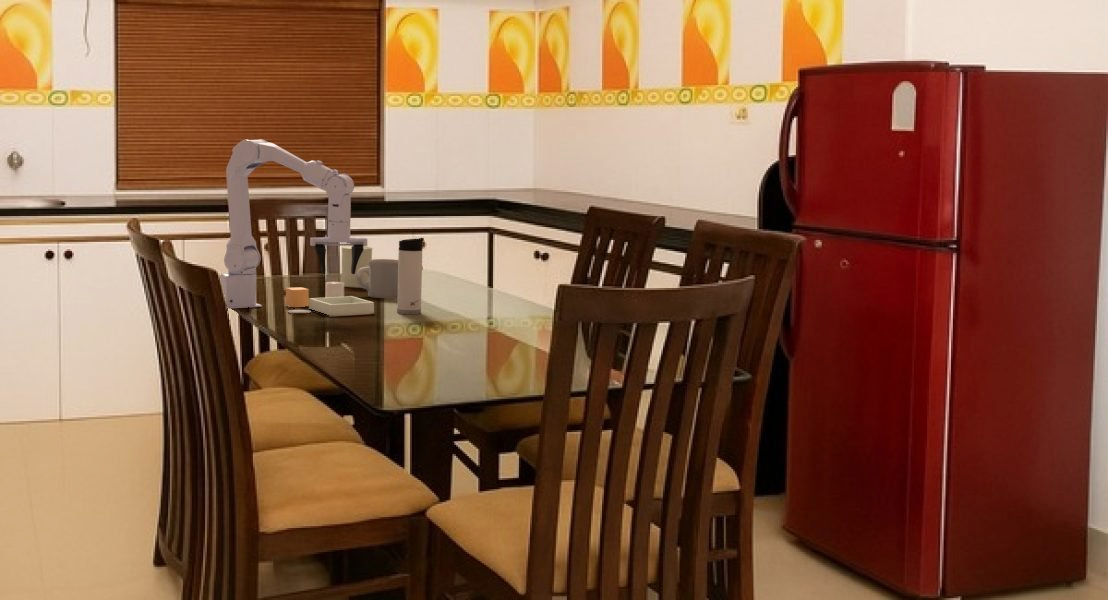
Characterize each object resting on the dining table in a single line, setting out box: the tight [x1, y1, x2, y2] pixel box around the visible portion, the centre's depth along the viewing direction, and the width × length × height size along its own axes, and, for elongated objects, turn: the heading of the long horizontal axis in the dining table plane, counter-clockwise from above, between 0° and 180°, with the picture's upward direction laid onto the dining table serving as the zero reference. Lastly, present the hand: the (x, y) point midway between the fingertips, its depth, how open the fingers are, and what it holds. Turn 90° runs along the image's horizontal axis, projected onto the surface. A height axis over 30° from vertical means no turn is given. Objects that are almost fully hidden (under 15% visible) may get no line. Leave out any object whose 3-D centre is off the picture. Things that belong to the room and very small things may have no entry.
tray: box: [308, 295, 375, 317], centre depth 363 cm, size 13×13×3 cm
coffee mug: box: [356, 258, 398, 299], centre depth 396 cm, size 13×10×10 cm
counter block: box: [285, 286, 310, 307], centre depth 369 cm, size 4×4×5 cm
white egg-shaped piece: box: [324, 281, 345, 298], centre depth 375 cm, size 5×5×6 cm
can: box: [340, 245, 373, 288], centre depth 416 cm, size 9×9×12 cm
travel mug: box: [396, 237, 425, 315], centre depth 365 cm, size 6×7×20 cm
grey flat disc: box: [287, 309, 312, 313], centre depth 359 cm, size 6×6×1 cm
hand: (338, 273), depth 359 cm, fingers open, 7 cm apart
